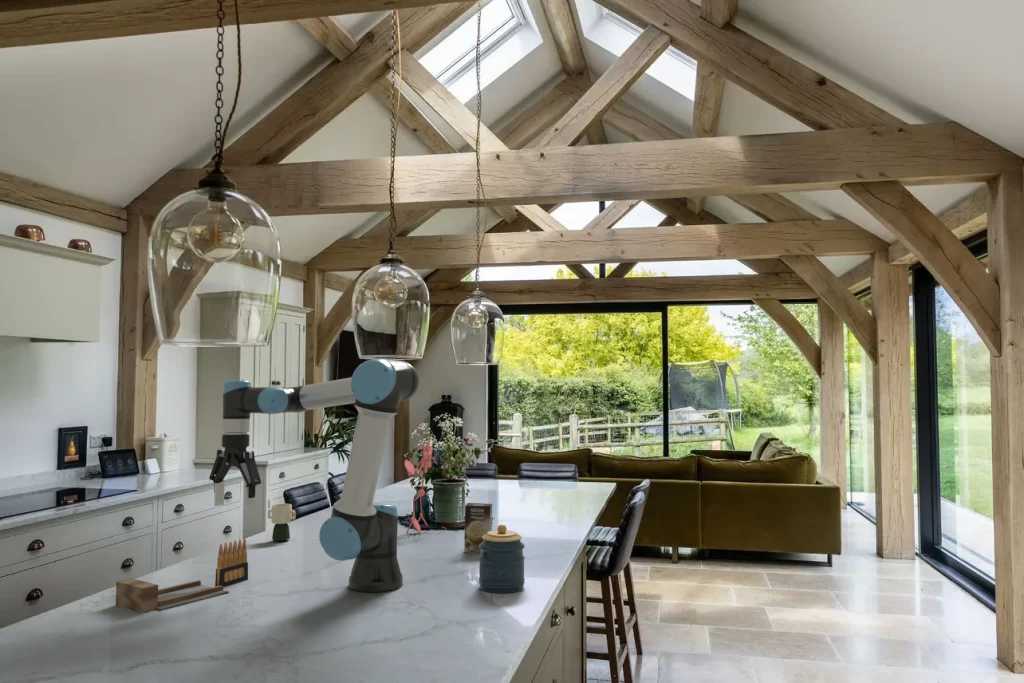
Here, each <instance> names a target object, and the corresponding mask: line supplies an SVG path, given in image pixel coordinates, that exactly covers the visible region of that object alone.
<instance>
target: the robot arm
mask: <svg viewBox="0 0 1024 683" xmlns="http://www.w3.org/2000/svg"><path fill="white" fill-rule="evenodd" d="M419 385H420V377H419V373H418V372H417V370H416V369H415V367H414V366H413V365H411V364H410V363H408V362H407V361H404V360H403V361H402V360H393V359H384V358H375V359H373V358H372V359H369V360H368V359H367V360H366V361H364V362H362V363H360V364H359V365H358V366H357V367H356V368H355V370H354V371H353V374H352V376H350V377H347V378H341V379H336V380H335V379H334V380H329V381H323V382H316V383H311V384H305V385H299V386H292V387H291V386H290V387H284V386H283V387H279V386H278V387H276V386H268V387H267V386H264V387H263V386H262V387H261V386H260V387H254V386H252V382H251V381H250V380H233V379H232V380H230V379H229V380H226V381H225V382H224V384H223V392H222V425H221V432H222V433H224V434H222V435H221V447H222V448H221V449H219V448H218V449H217V450H216V457H215V460H214V463H213V466H212V468H211V472H210V474H209V481H212V483H214V484H213V486H214V487H213V493H214V499H213V500H214V502H213V503H214V507H218V506H224V505H225V485H226V484H225V480H224V479H225V478H226V476H227V475H228V473H229V470H230V469H231V467H236V468H237V469H239V472H240V475H241V476H242V478H243V480H244V483H245V484H246V485H245V486H244V511H251V510H255V498H256V487H257V486H258V485H261V484H262V480H261V476H260V473H259V470H258V465H257V462H256V458H255V451H253V450H249V451H247V448H248V447H250V436H251V434H249V432H250V431H251V430H250V429H251V428H250V426H251V424H250V423H251V421H250V420H251V414H264V415H265V414H267V415H276V414H284V413H303V412H306V411H309V410H317V409H322V408H329V407H336V406H342V405H349V404H353V405H354V407H355V409H356V410H357V412H358V413H357V418H356V419H357V420H356V423H355V428H354V429H355V430H354V432H353V433H354V434H353V438H352V443H351V448H350V453H349V456H348V462H347V468H346V472H345V477H344V480H343V485H342V486H343V487H342V491H341V497H340V499H339V500H337V501H336V502H334V503H333V507H332V510H331V516H330V517H329V518H327V519H326V520H325V521H324V522H323V523H322V525H321V526H320V530H319V534H318V535H319V543H320V546H321V548H322V549H323V550H324V552H325V554H326V555H327V556H328V557H330V558H331V559H333V560H336V561H339V562H342V561H347V560H348V561H349V560H353V559H354V563H353V564H352V569H351V572H350V575H349V577H348V588H349V589H351V590H353V591H356V592H364V593H377V592H378V593H379V592H381V593H382V592H388V591H393V590H396V589H399V588H401V587H402V586H403V584H404V581H403V580H404V578H403V577H404V576H403V574H402V572H401V568H400V564H399V560H398V520H399V517H398V508H397V506H396V505H394V504H388V503H375V502H374V498H375V493H376V488H377V484H378V480H379V474H380V470H381V466H382V461H383V456H384V451H385V445H386V441H387V438H388V437H387V436H388V431H389V426H390V421H391V419H392V418H393V417H394V416H396V415H398V412H399V407H400V404H401V403H403V402H407V401H408V400H410V399H412V398H413V397H414V396H415V395H416V393H417V391H418V389H419Z"/></svg>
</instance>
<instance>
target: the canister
mask: <svg viewBox="0 0 1024 683" xmlns="http://www.w3.org/2000/svg"><path fill="white" fill-rule="evenodd" d="M522 538H523V537H522V535H520V534H519V533H518V532H517V531H515V530H509V529H508V530H507V526H506V525H505V524H502V523H501V524H499V525H498V526H497V529H496V530H492V531H489V532H487V534H485V535H483V536H482V539H484V540H483V542H482V543H480V544H479V547H480V549H481V553H480V555H479V556H478V560H479V566H478V569H479V572H478V573H479V576H478V585H479V589H480V590H482V591H483V592H488V593H495V594H509V593H510V594H511V593H515V592H519V591H522V590H523V589H524V586H525V559H526V558H525V556H524V548H525V547H526V546H525V544H524V543H523V542H522V541H521V539H522Z"/></svg>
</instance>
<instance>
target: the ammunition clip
mask: <svg viewBox="0 0 1024 683" xmlns="http://www.w3.org/2000/svg"><path fill="white" fill-rule="evenodd" d="M242 540H243V541H242ZM242 540H241V539H239V540H238V543H237V540H234V541H233V543H232V541H230V542H229V543H227V542H225V543H224V544H222V543H219V548H218V554H217V555H218V556H217V563H216V564H217V565H216V566H217V568H216V569H215V578H214V579H215V583H214V587H216V586H220V585H221V586H223V588H224V587H227V586H231V585H234V584H238V583H241V582H245V581H248V580H249V562H248V550H247V548H248V547H247V540H246V538H245V537H244V538H243V539H242Z"/></svg>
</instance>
